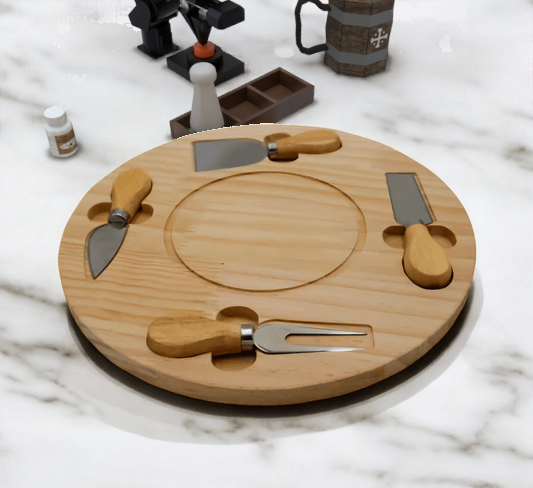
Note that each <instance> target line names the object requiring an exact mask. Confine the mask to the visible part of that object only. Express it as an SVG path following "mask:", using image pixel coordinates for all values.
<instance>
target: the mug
mask: <svg viewBox="0 0 533 488" xmlns="http://www.w3.org/2000/svg"><path fill="white" fill-rule="evenodd" d="M395 1H396V0H327V3H323V2H322V1H321V0H297V2H296V5H295V7H294V20H295V21H294V22H295V24H294V25H295V29H294V30H295V36H294V37H295V46H297V49H298V51H299V52H300V54H304V55H306V56H312V55H315V54H317V53H322V52H324V55H323V60H322V64H324V65H325V66H326V67H327V68H329V69H330V70H331V71H333V72H334V73H335V74H336V75H340V76H348V77H355V78H356V77H357V78H363V79H364V78H367V77H370V76H373V75H376V74H379V73H381V72H385V71H386V68H387V64H388V59H389V44H390V37H391V33H392V28H393V24H394V8H395ZM308 3H311V4H314V5H315V6H316V7H317V8H318V9H319V10H320V11H322V12H327V14H326V21H325V26H324V29H325V32H324V33H325V42H323V43H319V44H315V45H312V46H310V47H306V46H304V45H303V43H302V27H303V25H302V18H301V11H302V8H303V5H305V4H308Z"/></svg>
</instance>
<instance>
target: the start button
mask: <svg viewBox="0 0 533 488" xmlns="http://www.w3.org/2000/svg"><path fill="white" fill-rule="evenodd" d="M214 44H215V43H214V42H213V41H211V40H208V42H207V44H206V45H204V46H202V45H201V44H200V43H199V42H198V41H195V42H194V44H193V45H194V46H193V45H192V46H193V47H194V55H195V56H196V57H201V58H206V57H211V56H213V55H214V54H215V48H214Z"/></svg>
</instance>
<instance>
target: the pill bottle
mask: <svg viewBox="0 0 533 488" xmlns="http://www.w3.org/2000/svg"><path fill="white" fill-rule="evenodd" d="M43 117H44V121H45V124H44V130H45V134H46V139H47V141H48V145H49V148H50V151H51V154H52V155H53V156H54V157H57V158H68V157H70V156H71V157H72V156H73V155H75V154H76V153H77V151H78V149H79V147H78V141H77V138H76V134H75V130H74V126H73V122H72V121H71V120H70V119H69V118H68V115H67V111H66V109H65V108H64V107H63V106H60V105H54V106H50V107H48V108H46V109H45V110H44V111H43Z"/></svg>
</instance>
